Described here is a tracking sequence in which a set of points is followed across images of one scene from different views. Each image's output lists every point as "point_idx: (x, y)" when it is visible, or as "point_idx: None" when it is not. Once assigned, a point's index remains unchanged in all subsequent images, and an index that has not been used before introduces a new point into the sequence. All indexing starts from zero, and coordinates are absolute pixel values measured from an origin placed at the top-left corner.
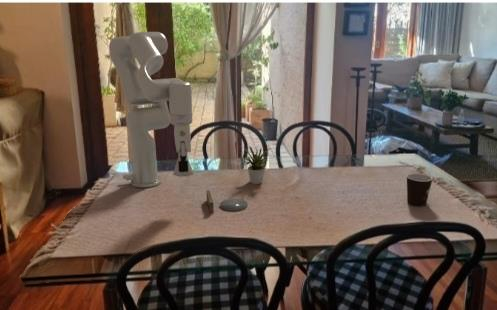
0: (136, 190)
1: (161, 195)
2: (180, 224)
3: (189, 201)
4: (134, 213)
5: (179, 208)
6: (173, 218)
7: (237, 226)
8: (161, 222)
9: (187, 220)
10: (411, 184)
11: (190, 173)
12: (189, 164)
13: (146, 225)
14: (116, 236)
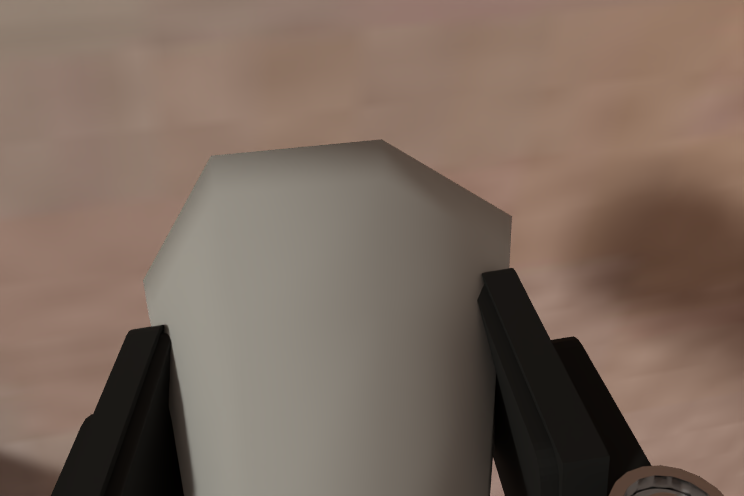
0: (12, 484)
1: (80, 323)
2: (712, 100)
3: (197, 70)
4: None
5: None
6: (575, 170)
7: None
8: (625, 245)
9: (651, 47)
10: None
11: (440, 194)
12: (387, 318)
13: (643, 326)
14: (737, 436)
